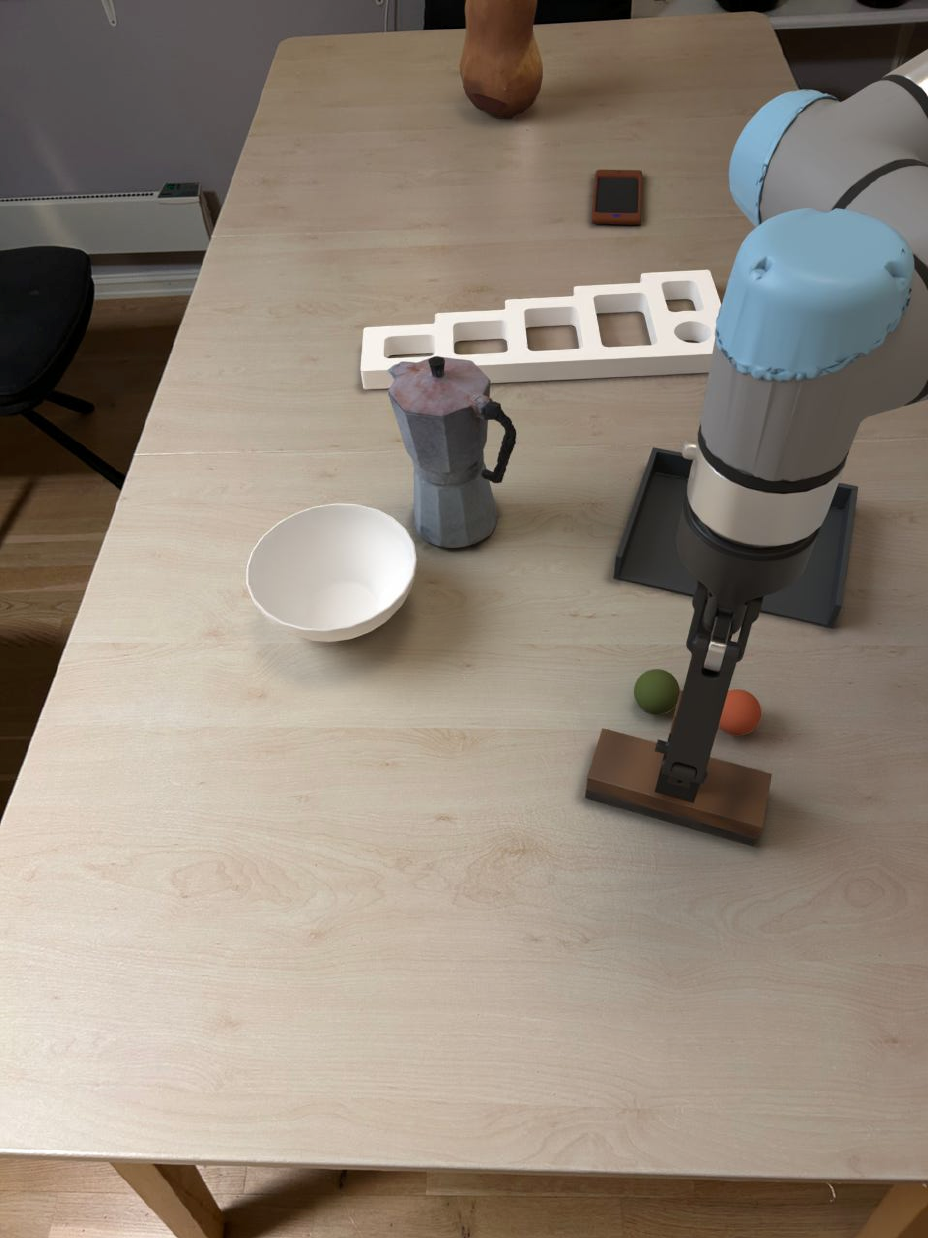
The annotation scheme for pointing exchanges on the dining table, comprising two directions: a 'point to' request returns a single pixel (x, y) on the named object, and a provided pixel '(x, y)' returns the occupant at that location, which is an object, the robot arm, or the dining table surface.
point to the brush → (720, 806)
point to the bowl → (332, 571)
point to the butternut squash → (501, 56)
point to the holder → (573, 310)
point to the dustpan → (658, 565)
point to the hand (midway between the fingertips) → (693, 714)
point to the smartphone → (617, 197)
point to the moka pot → (450, 447)
